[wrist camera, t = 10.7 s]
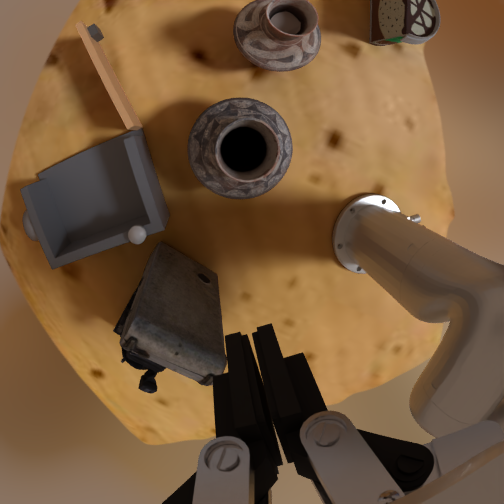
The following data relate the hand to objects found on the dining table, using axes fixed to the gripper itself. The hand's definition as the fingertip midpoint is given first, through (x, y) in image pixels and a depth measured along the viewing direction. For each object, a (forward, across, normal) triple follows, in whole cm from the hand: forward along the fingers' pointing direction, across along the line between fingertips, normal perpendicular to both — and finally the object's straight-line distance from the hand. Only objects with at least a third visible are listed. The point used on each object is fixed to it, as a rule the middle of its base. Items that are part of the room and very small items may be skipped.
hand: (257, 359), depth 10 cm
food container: (+31, -30, -21) cm, 48 cm away
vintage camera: (+30, +12, +12) cm, 35 cm away
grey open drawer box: (+30, +16, -5) cm, 34 cm away
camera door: (+29, +9, -19) cm, 36 cm away
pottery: (+31, -6, -12) cm, 34 cm away
